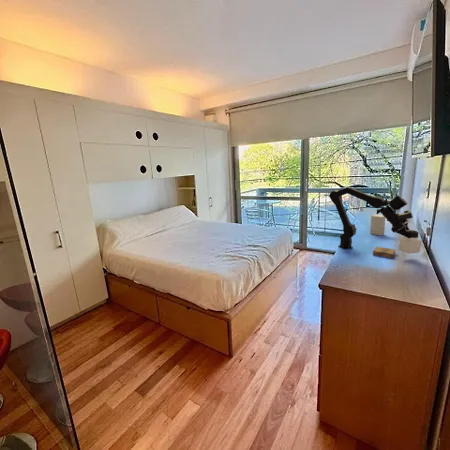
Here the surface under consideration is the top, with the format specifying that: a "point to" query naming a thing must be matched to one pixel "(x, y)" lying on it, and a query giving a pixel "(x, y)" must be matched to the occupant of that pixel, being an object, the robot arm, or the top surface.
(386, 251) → the walnut block
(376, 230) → the skincare box
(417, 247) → the medicine bottle
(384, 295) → the top surface
